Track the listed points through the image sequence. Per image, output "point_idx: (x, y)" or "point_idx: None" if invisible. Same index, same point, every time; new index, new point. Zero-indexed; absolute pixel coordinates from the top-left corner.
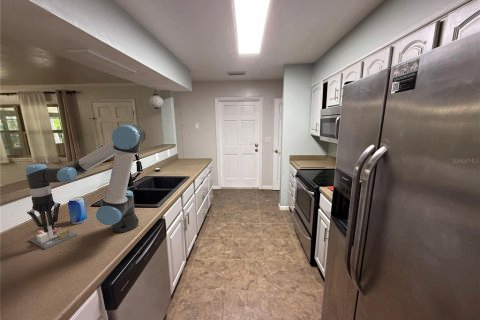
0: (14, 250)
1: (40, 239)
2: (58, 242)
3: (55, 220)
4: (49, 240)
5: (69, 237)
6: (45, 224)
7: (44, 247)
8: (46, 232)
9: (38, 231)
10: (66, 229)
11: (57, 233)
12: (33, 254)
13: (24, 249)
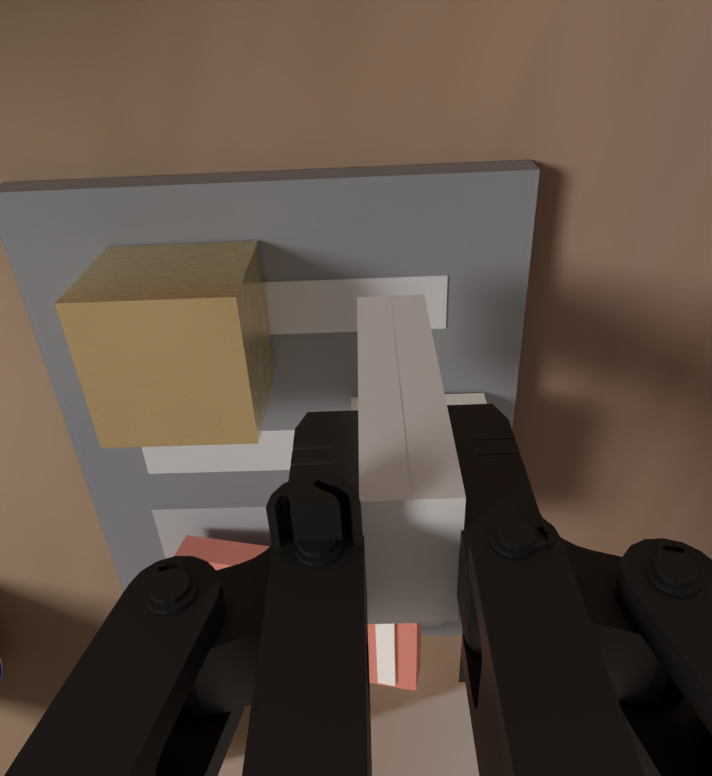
0: (690, 519)
1: None
2: (319, 176)
3: (186, 617)
4: None
5: (124, 186)
6: (532, 588)
7: (537, 192)
8: (477, 405)
9: (407, 671)
10: (85, 378)
11: (254, 386)
12: (698, 165)
13: (637, 448)
